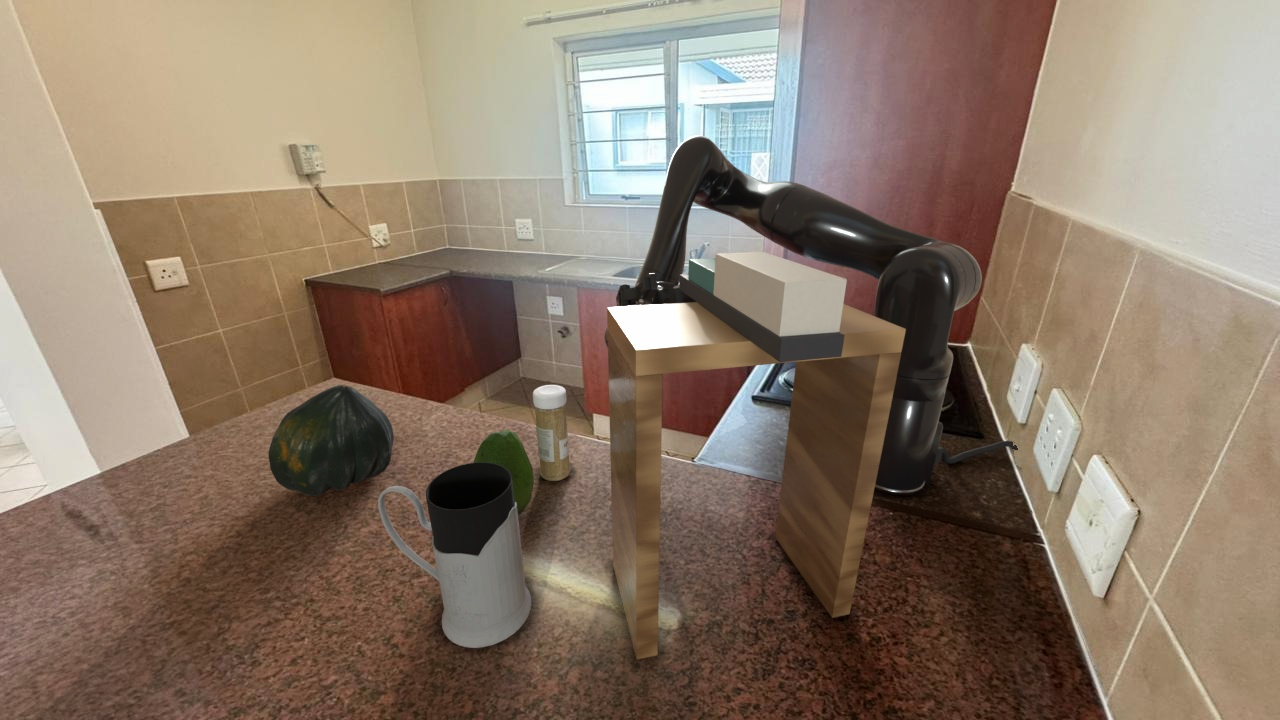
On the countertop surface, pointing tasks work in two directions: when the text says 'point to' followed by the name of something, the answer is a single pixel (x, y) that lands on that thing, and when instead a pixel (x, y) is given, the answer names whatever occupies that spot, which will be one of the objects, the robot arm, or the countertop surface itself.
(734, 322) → the beige green block bar
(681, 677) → the countertop surface
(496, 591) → the glass holder
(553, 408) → the spice jar
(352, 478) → the squash
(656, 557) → the wooden stand
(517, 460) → the avocado
